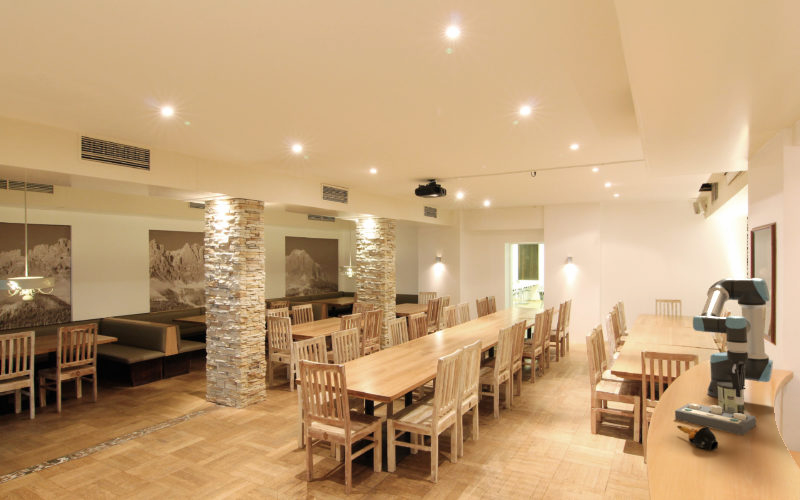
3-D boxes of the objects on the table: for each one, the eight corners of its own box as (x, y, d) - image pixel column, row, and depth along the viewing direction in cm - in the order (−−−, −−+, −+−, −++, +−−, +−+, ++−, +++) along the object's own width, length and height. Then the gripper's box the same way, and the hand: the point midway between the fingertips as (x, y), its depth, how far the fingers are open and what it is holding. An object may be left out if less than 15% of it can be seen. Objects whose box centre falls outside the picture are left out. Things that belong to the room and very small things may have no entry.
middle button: (712, 415, 209) (712, 404, 209) (723, 417, 205) (723, 406, 206) (709, 417, 206) (708, 406, 206) (720, 420, 203) (720, 408, 203)
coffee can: (737, 410, 219) (736, 382, 219) (749, 418, 209) (748, 387, 209) (714, 409, 221) (713, 381, 222) (724, 416, 211) (723, 386, 211)
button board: (690, 410, 220) (690, 401, 220) (755, 425, 199) (755, 415, 200) (675, 419, 209) (675, 409, 209) (742, 435, 188) (742, 424, 189)
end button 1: (691, 413, 216) (690, 402, 216) (701, 415, 213) (701, 405, 213) (687, 415, 213) (687, 404, 214) (698, 417, 210) (697, 407, 210)
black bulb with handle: (706, 443, 170) (665, 414, 186) (706, 463, 174) (667, 433, 190) (724, 432, 172) (682, 404, 188) (724, 452, 176) (684, 423, 192)
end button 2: (735, 423, 202) (735, 412, 202) (747, 426, 198) (747, 414, 198) (732, 425, 199) (732, 414, 199) (744, 428, 196) (744, 417, 196)
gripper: (732, 347, 207) (734, 398, 206) (722, 352, 199) (724, 404, 198) (752, 350, 201) (754, 402, 200) (742, 354, 193) (745, 409, 192)
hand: (739, 403), depth 199 cm, fingers closed
